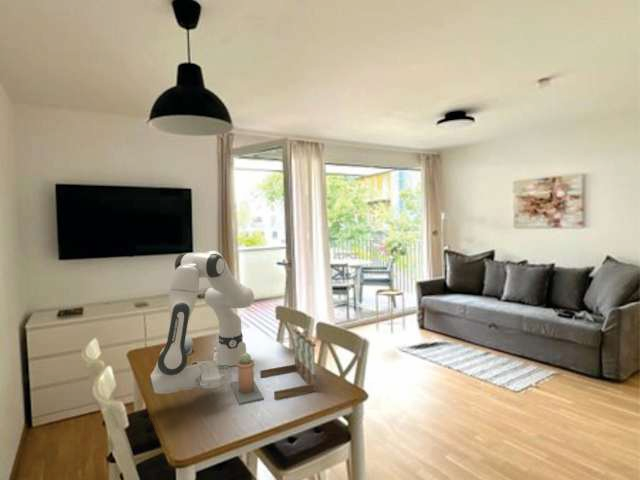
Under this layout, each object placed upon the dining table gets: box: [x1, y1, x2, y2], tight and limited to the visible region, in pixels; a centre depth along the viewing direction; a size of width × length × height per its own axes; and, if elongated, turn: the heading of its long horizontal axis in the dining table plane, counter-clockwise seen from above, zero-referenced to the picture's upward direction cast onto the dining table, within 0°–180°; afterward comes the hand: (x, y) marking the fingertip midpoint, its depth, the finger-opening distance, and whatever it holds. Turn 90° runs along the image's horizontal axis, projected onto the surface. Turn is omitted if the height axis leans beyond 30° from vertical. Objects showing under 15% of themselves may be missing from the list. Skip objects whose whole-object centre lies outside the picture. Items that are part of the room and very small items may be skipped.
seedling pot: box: [236, 352, 255, 393], centre depth 156 cm, size 7×7×16 cm
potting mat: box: [230, 380, 265, 405], centre depth 156 cm, size 20×10×1 cm, turn 23°
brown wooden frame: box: [259, 328, 317, 401], centre depth 163 cm, size 24×18×20 cm
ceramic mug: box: [185, 336, 194, 356], centre depth 204 cm, size 11×8×8 cm
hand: (230, 370), depth 153 cm, fingers open, 8 cm apart
